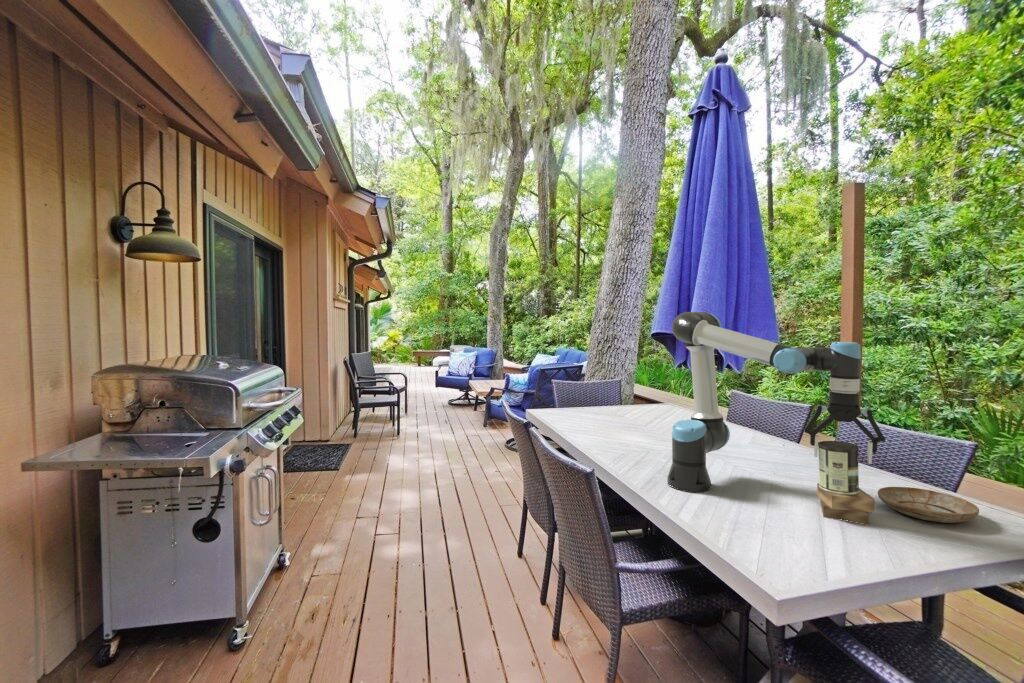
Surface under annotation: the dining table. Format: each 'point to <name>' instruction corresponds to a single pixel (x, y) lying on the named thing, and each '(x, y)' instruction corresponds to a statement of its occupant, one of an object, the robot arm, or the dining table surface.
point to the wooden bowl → (928, 504)
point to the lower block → (844, 514)
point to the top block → (847, 500)
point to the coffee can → (838, 467)
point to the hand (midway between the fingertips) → (841, 459)
